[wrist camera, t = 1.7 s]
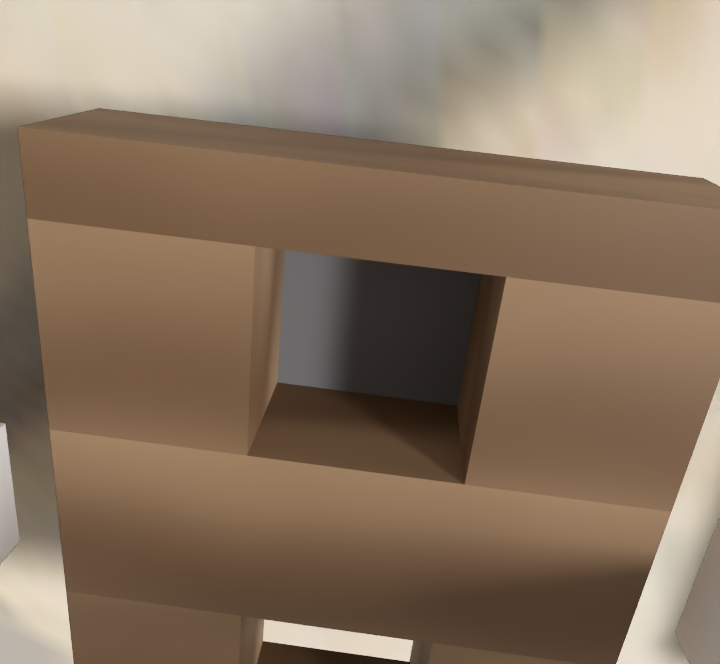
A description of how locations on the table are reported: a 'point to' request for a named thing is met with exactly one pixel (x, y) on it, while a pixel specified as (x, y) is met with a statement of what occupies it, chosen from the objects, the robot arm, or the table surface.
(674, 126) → the table surface
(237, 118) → the table surface
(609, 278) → the board
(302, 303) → the riser
